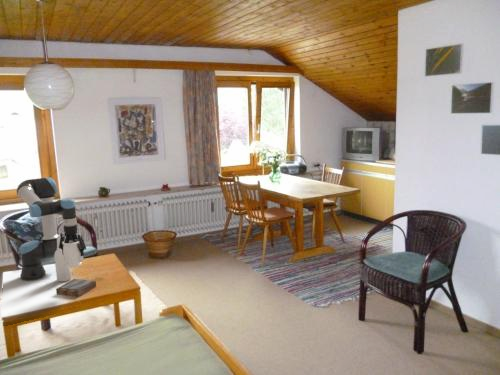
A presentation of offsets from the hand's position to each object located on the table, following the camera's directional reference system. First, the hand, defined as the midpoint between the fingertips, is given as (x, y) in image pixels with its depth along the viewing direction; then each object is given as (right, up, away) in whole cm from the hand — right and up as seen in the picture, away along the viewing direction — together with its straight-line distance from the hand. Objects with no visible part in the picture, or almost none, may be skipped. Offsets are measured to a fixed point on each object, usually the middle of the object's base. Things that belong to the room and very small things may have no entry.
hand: (73, 260), depth 260 cm
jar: (0, -3, 0) cm, 3 cm away
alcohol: (-15, -16, +21) cm, 31 cm away
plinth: (0, -19, +3) cm, 19 cm away
